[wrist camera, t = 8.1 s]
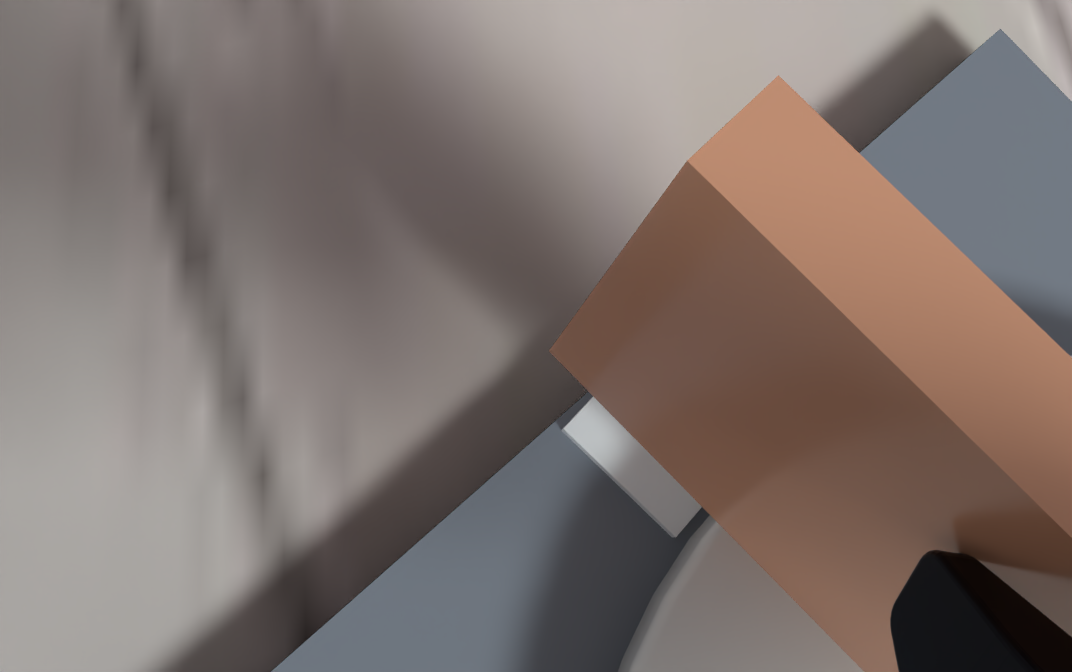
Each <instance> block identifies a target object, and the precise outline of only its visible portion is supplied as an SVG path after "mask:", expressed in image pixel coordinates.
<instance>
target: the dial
mask: <svg viewBox="0 0 1072 672" xmlns="http://www.w3.org/2000/svg"><path fill="white" fill-rule="evenodd" d="M549 352H550V353H551V354H552V355H553V356H554V357H555V358H556V359H557V360H558V361H559V362H560V363H561V364H562V365H563V366H564V367H565V368H566V369H567V370H568V371H569V372H570V373H571V374H572V375H573V376H574V377H575V378H576V379H577V380H578V381H579V382H580V383H581V384H582V385H583V386H584V387H585V388H586V390H587V391H588V392H589V393H590V394H591V395H592V396H593V397H594V398H595V399H596V400H597V401H598V402H599V403H600V404H601V405H602V406H603V407H604V408H605V409H606V410H607V411H608V412H609V413H610V414H611V415H612V416H613V417H614V418H615V419H616V420H617V421H618V422H619V423H620V424H621V425H622V426H623V427H624V428H625V429H626V430H627V431H628V432H629V433H630V434H631V435H632V436H633V437H634V438H635V439H636V440H637V441H638V442H639V443H640V444H641V445H642V446H643V447H644V448H645V449H646V450H647V451H648V453H649V454H650V455H651V456H652V457H653V458H654V459H655V460H656V461H657V462H658V463H659V464H660V465H661V466H662V467H663V468H664V469H665V470H666V471H667V472H668V473H669V474H670V475H671V476H672V477H673V478H674V479H675V480H676V481H677V482H678V483H679V484H680V485H681V486H682V487H683V488H684V489H685V490H686V491H687V492H688V493H689V494H690V495H691V496H692V497H693V498H694V499H695V500H696V501H697V502H698V503H699V504H700V505H701V506H702V507H703V508H704V509H705V510H706V511H707V512H708V513H709V517H708V518H707V519H706V520H705V521H704V522H703V524H702V525H701V526H700V527H699V528H698V529H697V531H696V532H695V533H694V534H693V535H692V536H691V537H690V539H689V540H688V542H687V543H686V545H685V546H684V548H683V549H682V551H681V552H680V554H679V556H678V557H677V559H676V560H675V562H674V563H673V565H672V566H671V568H670V569H669V571H668V572H667V574H666V576H665V577H664V579H663V580H662V582H661V583H660V585H659V586H658V588H657V589H656V591H655V592H654V594H653V596H652V598H651V600H650V602H649V604H648V606H647V608H646V610H645V612H644V614H643V617H642V619H641V621H640V623H639V625H638V627H637V629H636V631H635V633H634V635H633V637H632V639H631V641H630V644H629V646H628V648H627V650H626V652H625V654H624V656H623V658H622V661H621V664H620V667H619V670H618V672H899V671H898V666H897V661H896V656H895V650H894V645H893V640H892V635H891V628H890V617H891V611H892V608H893V605H894V603H895V601H896V599H897V597H898V596H899V594H900V592H901V590H902V589H903V587H904V585H905V584H906V582H907V580H908V579H909V577H910V575H911V574H912V572H913V570H914V569H915V567H916V565H917V564H918V562H919V560H920V559H921V557H922V556H923V555H924V554H926V553H927V552H929V551H931V550H942V551H949V552H955V553H961V554H966V555H969V556H972V557H974V558H975V559H977V560H978V561H979V562H981V563H982V564H983V565H984V566H986V567H987V568H988V569H989V570H990V571H992V572H993V573H994V574H995V575H997V576H998V577H999V578H1000V579H1001V580H1003V581H1004V582H1005V583H1006V584H1008V585H1009V586H1010V587H1011V588H1012V589H1014V590H1015V591H1016V592H1017V593H1019V594H1020V595H1021V596H1022V597H1024V598H1025V599H1026V600H1027V601H1028V602H1030V603H1031V604H1032V605H1033V606H1035V607H1036V608H1037V609H1038V610H1039V611H1041V612H1042V613H1043V614H1044V615H1046V616H1047V617H1048V618H1049V619H1050V620H1052V621H1053V622H1054V623H1055V624H1057V625H1058V626H1059V627H1060V628H1061V629H1063V630H1064V631H1065V632H1066V633H1068V634H1069V635H1070V636H1071V637H1072V356H1070V355H1068V354H1067V353H1066V352H1065V351H1064V350H1063V349H1062V348H1061V347H1060V346H1059V345H1058V344H1057V343H1056V342H1055V341H1054V340H1053V339H1052V338H1051V337H1050V336H1049V335H1048V334H1047V333H1046V332H1045V331H1044V330H1042V329H1041V328H1040V327H1039V326H1038V325H1037V324H1036V323H1035V322H1034V321H1033V320H1032V319H1031V318H1030V317H1029V316H1028V315H1027V314H1026V313H1025V312H1024V311H1023V310H1022V309H1021V308H1020V307H1019V306H1018V305H1017V304H1015V303H1014V302H1013V301H1012V300H1011V299H1010V298H1009V297H1008V296H1007V295H1006V294H1005V293H1004V292H1003V291H1002V290H1001V289H1000V288H999V287H998V286H997V285H996V284H995V283H994V282H993V281H992V280H991V279H989V278H988V277H987V276H986V275H985V274H984V273H983V272H982V271H981V270H980V269H979V268H978V267H977V266H976V265H975V264H974V263H973V262H972V261H971V260H970V259H969V258H968V257H967V256H966V255H965V254H963V253H962V252H961V251H960V250H959V249H958V248H957V247H956V246H955V245H954V244H953V243H952V242H951V241H950V240H949V239H948V238H947V237H946V236H945V235H944V234H943V233H942V232H941V231H940V230H939V229H938V228H936V227H935V226H934V225H933V224H932V223H931V222H930V221H929V220H928V219H927V218H926V217H925V216H924V215H923V214H922V213H921V212H920V211H919V210H918V209H917V208H916V207H915V206H914V205H913V204H912V203H910V202H909V201H908V200H907V199H906V198H905V197H904V196H903V195H902V194H901V193H900V192H899V191H898V190H897V189H896V188H895V187H894V186H893V185H892V184H891V183H890V182H889V181H888V180H887V179H886V178H884V177H883V176H882V175H881V174H880V173H879V172H878V171H877V170H876V169H875V168H874V167H873V166H872V165H871V164H870V163H869V162H868V161H867V160H866V159H865V158H864V157H863V156H862V155H861V154H860V153H859V152H857V151H856V150H855V149H854V148H853V147H852V146H851V145H850V144H849V143H848V142H847V141H846V140H845V139H844V138H843V137H842V136H841V135H840V134H839V133H838V132H837V131H836V130H835V129H834V128H833V127H831V126H830V125H829V124H828V123H827V122H826V121H825V120H824V119H823V118H822V117H821V116H820V115H819V114H818V113H817V112H816V111H815V110H814V109H813V108H812V107H811V106H810V105H809V104H808V103H807V102H805V101H804V100H803V99H802V98H801V97H800V96H799V95H798V94H797V93H796V92H795V91H794V90H793V89H792V88H791V87H790V86H789V85H788V84H787V83H786V82H785V81H784V80H783V79H782V78H781V77H779V76H777V77H776V78H775V79H774V80H773V81H772V82H771V83H770V84H769V85H768V86H767V87H766V88H764V89H763V90H762V91H761V92H760V93H759V94H758V95H757V96H756V97H755V98H754V99H753V100H752V101H751V102H750V103H748V104H747V105H746V106H745V107H744V108H743V109H742V110H741V111H740V112H739V113H738V114H737V115H736V116H735V117H733V118H732V119H731V120H730V121H729V122H728V123H727V124H726V125H725V126H724V127H723V128H722V129H721V130H720V131H718V132H717V133H716V134H715V135H714V136H713V137H712V138H711V139H710V140H709V141H708V142H707V143H706V144H705V145H704V146H702V147H701V148H700V149H699V150H698V151H697V152H696V153H695V154H694V155H693V156H692V157H691V158H690V159H689V160H687V162H686V163H685V164H684V166H683V167H682V169H681V170H680V171H679V173H678V174H677V175H676V177H675V178H674V180H673V181H672V182H671V184H670V185H669V186H668V188H667V189H666V191H665V192H664V193H663V195H662V196H661V197H660V199H659V200H658V202H657V203H656V204H655V206H654V207H653V208H652V210H651V211H650V213H649V214H648V215H647V217H646V218H645V219H644V221H643V222H642V224H641V225H640V226H639V228H638V229H637V230H636V232H635V233H634V235H633V236H632V237H631V239H630V240H629V241H628V243H627V244H626V246H625V247H624V248H623V250H622V251H621V252H620V254H619V255H618V257H617V258H616V259H615V261H614V262H613V263H612V265H611V266H610V268H609V269H608V270H607V272H606V273H605V274H604V276H603V277H602V279H601V280H600V281H599V283H598V284H597V285H596V287H595V288H594V290H593V291H592V292H591V294H590V295H589V296H588V298H587V299H586V301H585V302H584V303H583V305H582V306H581V307H580V309H579V310H578V312H577V313H576V314H575V316H574V317H573V318H572V320H571V321H570V322H569V324H568V325H567V327H566V328H565V329H564V331H563V332H562V333H561V335H560V336H559V338H558V339H557V340H556V342H555V343H554V344H553V346H552V347H551V349H550V350H549Z"/></svg>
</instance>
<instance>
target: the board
mask: <svg viewBox="0 0 1072 672" xmlns="http://www.w3.org/2000/svg"><path fill="white" fill-rule="evenodd" d="M860 154H861V155H862V156H863V157H864V158H865V159H866V160H867V161H868V162H869V163H870V164H871V165H872V166H873V167H874V168H875V169H876V170H877V171H878V172H879V173H880V174H881V175H882V176H883V177H884V178H886V179H887V180H888V181H889V182H890V183H891V184H892V185H893V186H894V187H895V188H896V189H897V190H898V191H899V192H900V193H901V194H902V195H903V196H904V197H905V198H906V199H907V200H908V201H909V202H910V203H912V204H913V205H914V206H915V207H916V208H917V209H918V210H919V211H920V212H921V213H922V214H923V215H924V216H925V217H926V218H927V219H928V220H929V221H930V222H931V223H932V224H933V225H934V226H935V227H936V228H938V229H939V230H940V231H941V232H942V233H943V234H944V235H945V236H946V237H947V238H948V239H949V240H950V241H951V242H952V243H953V244H954V245H955V246H956V247H957V248H958V249H959V250H960V251H961V252H962V253H963V254H965V255H966V256H967V257H968V258H969V259H970V260H971V261H972V262H973V263H974V264H975V265H976V266H977V267H978V268H979V269H980V270H981V271H982V272H983V273H984V274H985V275H986V276H987V277H988V278H989V279H991V280H992V281H993V282H994V283H995V284H996V285H997V286H998V287H999V288H1000V289H1001V290H1002V291H1003V292H1004V293H1005V294H1006V295H1007V296H1008V297H1009V298H1010V299H1011V300H1012V301H1013V302H1014V303H1015V304H1017V305H1018V306H1019V307H1020V308H1021V309H1022V310H1023V311H1024V312H1025V313H1026V314H1027V315H1028V316H1029V317H1030V318H1031V319H1032V320H1033V321H1034V322H1035V323H1036V324H1037V325H1038V326H1039V327H1040V328H1041V329H1042V330H1044V331H1045V332H1046V333H1047V334H1048V335H1049V336H1050V337H1051V338H1052V339H1053V340H1054V341H1055V342H1056V343H1057V344H1058V345H1059V346H1060V347H1061V348H1062V349H1063V350H1064V351H1065V352H1066V353H1067V354H1068V355H1070V356H1072V102H1071V101H1070V99H1069V98H1068V97H1067V96H1066V95H1065V94H1064V93H1063V92H1062V91H1061V90H1060V89H1059V88H1058V87H1057V86H1056V85H1055V84H1054V83H1053V82H1052V81H1051V80H1050V79H1049V78H1048V77H1047V76H1046V75H1045V74H1044V73H1043V72H1042V71H1041V70H1040V69H1039V68H1038V67H1037V66H1036V65H1035V64H1034V63H1033V62H1032V61H1031V59H1030V58H1029V57H1028V56H1027V55H1026V54H1025V53H1024V52H1023V51H1022V50H1021V49H1020V48H1019V47H1018V46H1017V45H1016V44H1015V43H1014V42H1013V41H1012V40H1011V39H1010V38H1009V37H1008V36H1007V35H1006V34H1005V33H1004V32H1003V31H1002V30H1001V29H1000V30H998V31H997V32H996V33H995V34H994V35H993V36H992V37H990V38H989V39H988V40H987V41H986V42H985V43H984V44H982V45H981V46H980V47H979V48H978V49H977V50H975V51H974V52H973V53H972V54H971V55H970V56H969V57H967V58H966V59H965V60H964V61H963V62H962V63H961V64H960V65H958V66H957V67H956V68H955V69H954V70H953V71H952V72H950V73H949V74H948V75H947V76H946V77H945V78H944V79H942V80H941V81H940V82H939V83H938V84H937V85H936V86H935V87H933V88H932V89H931V90H930V91H929V92H928V93H927V94H925V95H924V96H923V97H922V98H921V99H920V100H919V101H918V102H916V103H915V104H914V105H913V106H912V107H911V108H910V109H908V110H907V111H906V112H905V113H904V114H903V115H902V116H901V117H899V118H898V119H897V120H896V121H895V122H894V123H893V124H891V125H890V126H889V127H888V128H887V129H886V130H885V131H883V132H882V133H881V134H880V135H879V136H878V137H877V138H876V139H874V140H873V141H872V142H871V143H870V144H869V145H868V146H866V147H865V148H864V149H863V150H862V151H861V152H860ZM708 517H709V513H708V512H707V511H706V510H705V509H704V508H703V507H702V506H701V505H700V504H699V503H698V502H697V501H696V500H695V499H694V498H693V497H692V496H691V495H690V494H689V493H688V492H687V491H686V490H685V489H684V488H683V487H682V486H681V485H680V484H679V483H678V482H677V481H676V480H675V479H674V478H673V477H672V476H671V475H670V474H669V473H668V472H667V471H666V470H665V469H664V468H663V467H662V466H661V465H660V464H659V463H658V462H657V461H656V460H655V459H654V458H653V457H652V456H651V455H650V454H649V453H648V451H647V450H646V449H645V448H644V447H643V446H642V445H641V444H640V443H639V442H638V441H637V440H636V439H635V438H634V437H633V436H632V435H631V434H630V433H629V432H628V431H627V430H626V429H625V428H624V427H623V426H622V425H621V424H620V423H619V422H618V421H617V420H616V419H615V418H614V417H613V416H612V415H611V414H610V413H609V412H608V411H607V410H606V409H605V408H604V407H603V406H602V405H601V404H600V403H599V402H598V401H597V400H596V399H595V398H594V397H593V396H592V395H591V394H590V393H589V392H587V393H586V394H585V395H584V396H583V397H582V398H581V399H579V400H578V401H577V402H576V403H575V404H574V405H573V406H571V407H570V408H569V409H568V410H567V411H566V412H565V413H564V414H562V415H561V416H560V417H559V418H558V419H557V420H556V421H554V422H553V423H552V424H551V425H550V426H549V427H548V428H547V429H545V430H544V431H543V432H542V433H541V434H540V435H539V436H537V437H536V438H535V439H534V440H533V441H532V442H531V443H530V444H528V445H527V446H526V447H525V448H524V449H523V450H522V451H520V452H519V453H518V454H517V455H516V456H515V457H514V458H512V459H511V460H510V461H509V462H508V463H507V464H506V465H505V466H503V467H502V468H501V469H500V470H499V471H498V472H497V473H495V474H494V475H493V476H492V477H491V478H490V479H489V480H488V481H486V482H485V483H484V484H483V485H482V486H481V487H480V488H478V489H477V490H476V491H475V492H474V493H473V494H472V495H471V496H469V497H468V498H467V499H466V500H465V501H464V502H463V503H461V504H460V505H459V506H458V507H457V508H456V509H455V510H453V511H452V512H451V513H450V514H449V515H448V516H447V517H446V518H444V519H443V520H442V521H441V522H440V523H439V524H438V525H436V526H435V527H434V528H433V529H432V530H431V531H430V532H429V533H427V534H426V535H425V536H424V537H423V538H422V539H421V540H419V541H418V542H417V543H416V544H415V545H414V546H413V547H412V548H410V549H409V550H408V551H407V552H406V553H405V554H404V555H402V556H401V557H400V558H399V559H398V560H397V561H396V562H394V563H393V564H392V565H391V566H390V567H389V568H388V569H387V570H385V571H384V572H383V573H382V574H381V575H380V576H379V577H377V578H376V579H375V580H374V581H373V582H372V583H371V584H370V585H368V586H367V587H366V588H365V589H364V590H363V591H362V592H360V593H359V594H358V595H357V596H356V597H355V598H354V599H353V600H351V601H350V602H349V603H348V604H347V605H346V606H345V607H343V608H342V609H341V610H340V611H339V612H338V613H337V614H335V615H334V616H333V617H332V618H331V619H330V620H329V621H328V622H326V623H325V624H324V625H323V626H322V627H321V628H320V629H318V630H317V631H316V632H315V633H314V634H313V635H312V636H311V637H309V638H308V639H307V640H306V641H305V642H304V643H303V644H301V645H300V646H299V647H298V648H297V649H296V650H295V651H294V652H292V653H291V654H290V655H289V656H288V657H287V658H286V659H284V660H283V661H282V662H281V663H280V664H279V665H278V666H276V667H275V668H274V669H273V670H272V671H271V672H618V670H619V667H620V664H621V661H622V658H623V656H624V654H625V652H626V650H627V648H628V646H629V644H630V641H631V639H632V637H633V635H634V633H635V631H636V629H637V627H638V625H639V623H640V621H641V619H642V617H643V614H644V612H645V610H646V608H647V606H648V604H649V602H650V600H651V598H652V596H653V594H654V592H655V591H656V589H657V588H658V586H659V585H660V583H661V582H662V580H663V579H664V577H665V576H666V574H667V572H668V571H669V569H670V568H671V566H672V565H673V563H674V562H675V560H676V559H677V557H678V556H679V554H680V552H681V551H682V549H683V548H684V546H685V545H686V543H687V542H688V540H689V539H690V537H691V536H692V535H693V534H694V533H695V532H696V531H697V529H698V528H699V527H700V526H701V525H702V524H703V522H704V521H705V520H706V519H707V518H708Z"/></svg>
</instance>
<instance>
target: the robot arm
mask: <svg viewBox="0 0 1072 672" xmlns="http://www.w3.org/2000/svg"><path fill="white" fill-rule="evenodd" d="M890 628H891V635H892V640H893V645H894V650H895V656H896V661H897V666H898V671H899V672H1072V637H1071V636H1070V635H1069V634H1068V633H1066V632H1065V631H1064V630H1063V629H1061V628H1060V627H1059V626H1058V625H1057V624H1055V623H1054V622H1053V621H1052V620H1050V619H1049V618H1048V617H1047V616H1046V615H1044V614H1043V613H1042V612H1041V611H1039V610H1038V609H1037V608H1036V607H1035V606H1033V605H1032V604H1031V603H1030V602H1028V601H1027V600H1026V599H1025V598H1024V597H1022V596H1021V595H1020V594H1019V593H1017V592H1016V591H1015V590H1014V589H1012V588H1011V587H1010V586H1009V585H1008V584H1006V583H1005V582H1004V581H1003V580H1001V579H1000V578H999V577H998V576H997V575H995V574H994V573H993V572H992V571H990V570H989V569H988V568H987V567H986V566H984V565H983V564H982V563H981V562H979V561H978V560H977V559H975V558H974V557H972V556H969V555H966V554H961V553H955V552H949V551H942V550H931V551H929V552H927V553H926V554H924V555H923V556H922V557H921V559H920V560H919V562H918V564H917V565H916V567H915V569H914V570H913V572H912V574H911V575H910V577H909V579H908V580H907V582H906V584H905V585H904V587H903V589H902V590H901V592H900V594H899V596H898V597H897V599H896V601H895V603H894V605H893V608H892V611H891V617H890Z"/></svg>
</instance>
